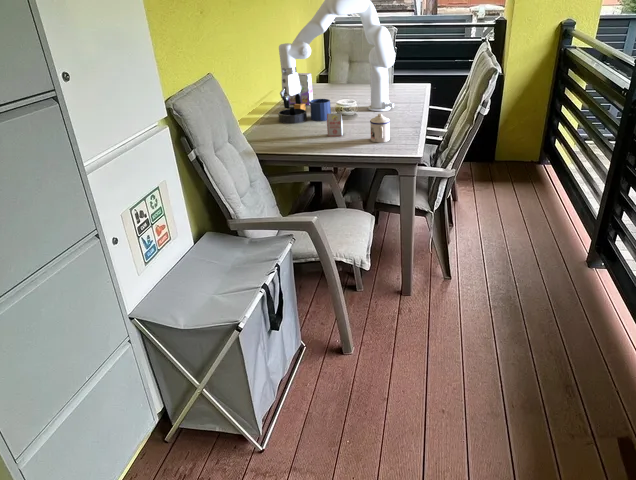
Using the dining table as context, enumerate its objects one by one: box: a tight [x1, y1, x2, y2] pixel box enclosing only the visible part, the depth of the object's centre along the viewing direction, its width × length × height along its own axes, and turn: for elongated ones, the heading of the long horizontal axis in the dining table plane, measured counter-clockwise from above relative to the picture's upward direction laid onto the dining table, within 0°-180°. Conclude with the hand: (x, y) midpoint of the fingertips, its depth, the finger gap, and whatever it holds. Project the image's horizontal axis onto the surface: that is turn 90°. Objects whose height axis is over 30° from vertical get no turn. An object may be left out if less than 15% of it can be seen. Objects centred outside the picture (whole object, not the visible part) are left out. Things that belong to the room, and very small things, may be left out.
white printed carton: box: [326, 113, 344, 137], centre depth 251 cm, size 4×7×10 cm, turn 84°
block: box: [293, 103, 307, 111], centre depth 292 cm, size 4×4×4 cm
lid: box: [289, 105, 299, 115], centre depth 278 cm, size 11×11×6 cm
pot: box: [309, 98, 332, 122], centre depth 279 cm, size 10×10×9 cm
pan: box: [277, 108, 308, 124], centre depth 279 cm, size 15×15×4 cm
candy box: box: [288, 72, 314, 106], centre depth 306 cm, size 14×6×16 cm, turn 71°
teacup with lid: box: [369, 113, 391, 144], centre depth 241 cm, size 12×9×12 cm
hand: (292, 106), depth 277 cm, fingers open, 9 cm apart
